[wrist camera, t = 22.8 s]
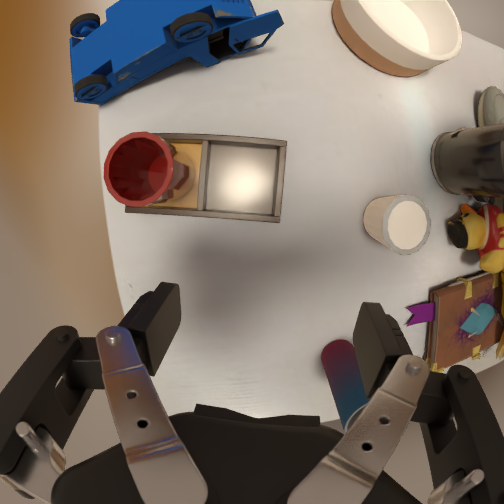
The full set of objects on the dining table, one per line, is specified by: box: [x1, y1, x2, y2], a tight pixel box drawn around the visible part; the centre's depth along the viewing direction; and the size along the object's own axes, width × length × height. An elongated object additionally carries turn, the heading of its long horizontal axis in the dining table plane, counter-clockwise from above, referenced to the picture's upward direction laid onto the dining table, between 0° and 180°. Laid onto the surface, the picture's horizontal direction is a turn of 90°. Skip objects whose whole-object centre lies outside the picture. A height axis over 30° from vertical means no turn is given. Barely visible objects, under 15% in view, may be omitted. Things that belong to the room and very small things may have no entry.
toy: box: [448, 203, 504, 273], centre depth 34 cm, size 9×11×10 cm
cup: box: [321, 340, 371, 433], centre depth 33 cm, size 7×7×15 cm
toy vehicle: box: [70, 0, 284, 105], centre depth 26 cm, size 25×12×12 cm, turn 105°
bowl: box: [332, 0, 462, 77], centre depth 26 cm, size 17×17×8 cm
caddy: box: [125, 133, 287, 223], centre depth 33 cm, size 9×18×4 cm, turn 85°
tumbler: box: [104, 132, 195, 207], centre depth 28 cm, size 6×6×12 cm
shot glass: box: [363, 195, 431, 255], centre depth 33 cm, size 7×7×7 cm
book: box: [406, 271, 504, 373], centre depth 38 cm, size 16×25×5 cm, turn 100°
